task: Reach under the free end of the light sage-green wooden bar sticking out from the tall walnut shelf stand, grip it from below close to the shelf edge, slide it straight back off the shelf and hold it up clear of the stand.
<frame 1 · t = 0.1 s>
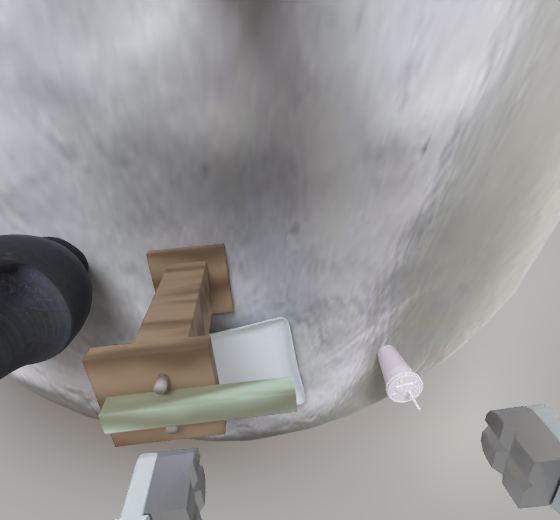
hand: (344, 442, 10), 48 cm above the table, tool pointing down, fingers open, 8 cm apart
pitcher: (57, 253, 58), on the table
shelf stand: (192, 280, 61), on the table
smoothie: (385, 352, 71), on the table
bar: (202, 395, 38), point 26 cm above the table, touching shelf stand
salad plate: (241, 362, 70), on the table
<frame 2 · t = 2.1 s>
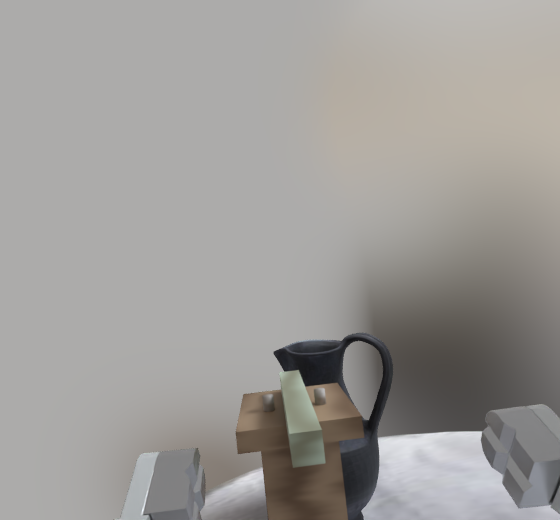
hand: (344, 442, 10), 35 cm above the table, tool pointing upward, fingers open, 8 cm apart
bar: (297, 418, 36), point 26 cm above the table, touching shelf stand
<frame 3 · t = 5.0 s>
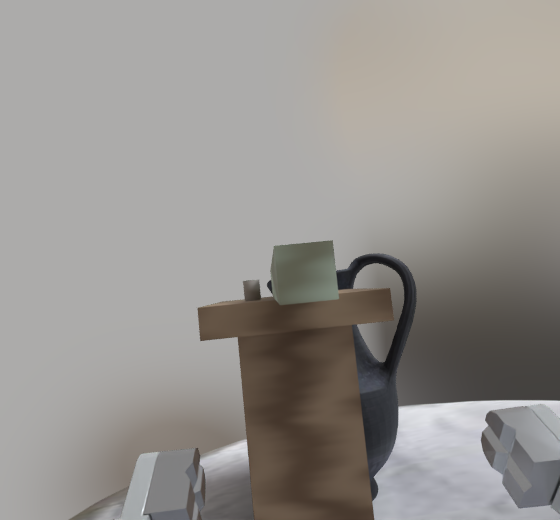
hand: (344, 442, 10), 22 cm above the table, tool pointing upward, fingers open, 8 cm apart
pitcher: (355, 493, 47), on the table
bar: (293, 297, 24), point 26 cm above the table, touching shelf stand
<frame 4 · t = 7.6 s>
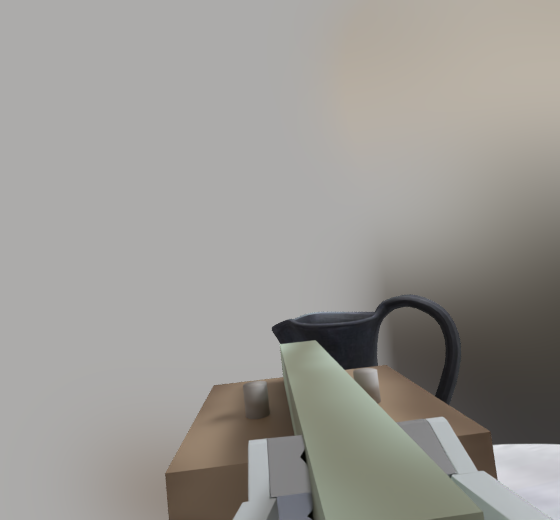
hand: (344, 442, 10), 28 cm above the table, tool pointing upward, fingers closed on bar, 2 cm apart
bar: (324, 435, 15), point 26 cm above the table, touching gripper, shelf stand
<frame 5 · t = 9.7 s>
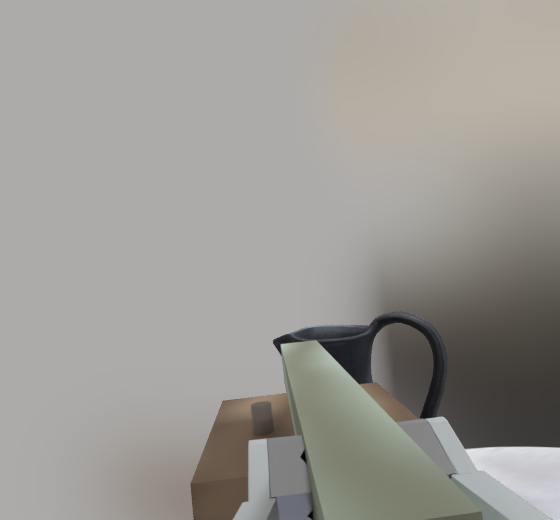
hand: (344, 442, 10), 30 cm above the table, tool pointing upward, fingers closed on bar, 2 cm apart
bar: (324, 435, 15), point 28 cm above the table, touching gripper
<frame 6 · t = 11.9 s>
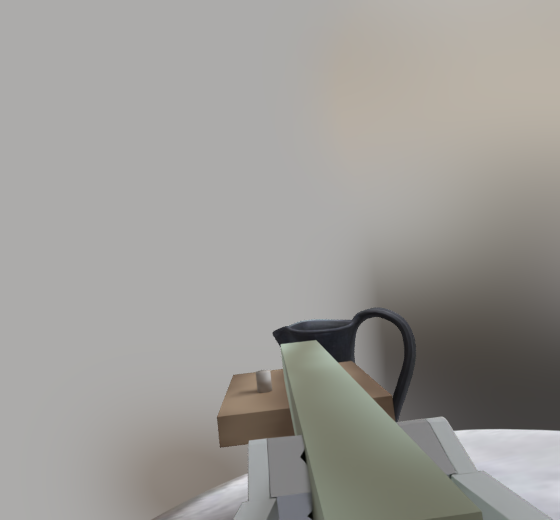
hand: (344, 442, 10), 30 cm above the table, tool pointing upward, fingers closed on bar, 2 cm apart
bar: (325, 435, 15), point 28 cm above the table, touching gripper
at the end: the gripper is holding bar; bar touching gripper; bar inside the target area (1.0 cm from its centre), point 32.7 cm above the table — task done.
